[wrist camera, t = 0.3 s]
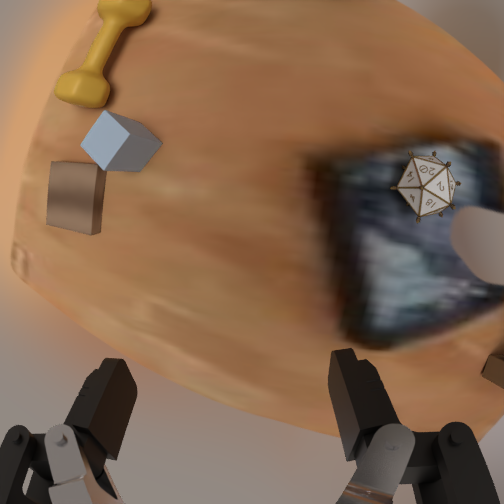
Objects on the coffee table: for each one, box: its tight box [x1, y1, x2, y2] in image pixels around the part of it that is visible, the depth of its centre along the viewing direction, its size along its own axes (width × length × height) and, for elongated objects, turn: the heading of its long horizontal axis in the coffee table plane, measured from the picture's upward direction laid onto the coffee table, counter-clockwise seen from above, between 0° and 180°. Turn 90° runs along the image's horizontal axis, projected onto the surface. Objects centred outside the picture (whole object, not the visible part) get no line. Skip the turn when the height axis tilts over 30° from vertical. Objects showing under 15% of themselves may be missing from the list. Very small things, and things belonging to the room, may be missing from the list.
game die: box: [390, 151, 461, 223], centre depth 29 cm, size 9×8×10 cm
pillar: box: [81, 110, 163, 172], centre depth 31 cm, size 5×5×9 cm
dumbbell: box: [54, 0, 152, 108], centre depth 29 cm, size 19×9×8 cm, turn 158°
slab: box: [46, 161, 107, 235], centre depth 37 cm, size 10×10×3 cm
